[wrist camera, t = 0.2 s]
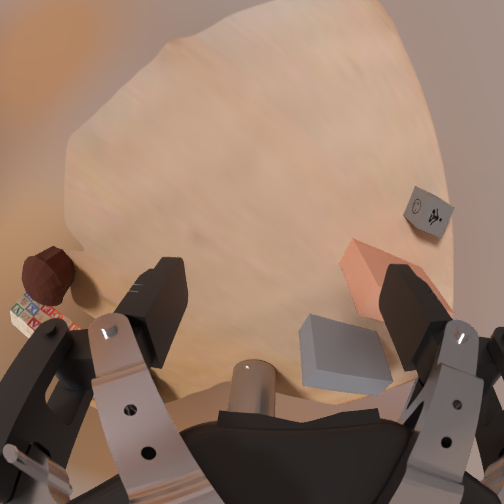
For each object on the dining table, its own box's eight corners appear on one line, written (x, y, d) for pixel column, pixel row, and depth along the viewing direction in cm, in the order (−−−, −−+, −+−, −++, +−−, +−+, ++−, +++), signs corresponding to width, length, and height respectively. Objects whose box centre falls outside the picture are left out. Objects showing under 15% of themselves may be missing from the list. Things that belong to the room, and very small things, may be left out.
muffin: (52, 285, 49) (27, 311, 41) (35, 241, 44) (6, 265, 35) (87, 289, 48) (62, 319, 40) (71, 240, 43) (39, 267, 34)
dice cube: (414, 185, 35) (430, 195, 30) (437, 196, 35) (454, 207, 30) (403, 215, 37) (417, 228, 33) (426, 224, 37) (440, 238, 33)
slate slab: (376, 331, 48) (393, 381, 37) (364, 346, 50) (377, 395, 39) (309, 313, 47) (316, 369, 36) (298, 330, 49) (302, 385, 38)
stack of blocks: (30, 302, 54) (5, 330, 43) (30, 287, 51) (2, 316, 40) (89, 347, 58) (69, 382, 48) (93, 335, 56) (70, 372, 45)
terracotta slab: (420, 267, 41) (453, 312, 30) (407, 287, 43) (435, 335, 32) (352, 238, 39) (378, 285, 28) (339, 262, 41) (358, 314, 30)
